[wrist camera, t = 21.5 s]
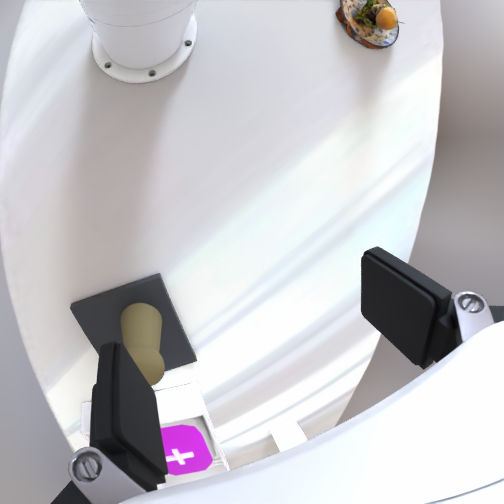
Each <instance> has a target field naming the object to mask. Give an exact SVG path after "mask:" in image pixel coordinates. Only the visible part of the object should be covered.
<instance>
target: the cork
mask: <svg viewBox="0 0 504 504" xmlns="http://www.w3.org/2000/svg"><path fill="white" fill-rule="evenodd" d="M121 329H122V337H123V343H124V346H125V347H126V349H127V350H128V352H129V354H130V355H131V357H132V359H133V360H134V362H135V363H136V365H137V366H138V368H139V369H140V371H141V373H142V374H143V376H144V377H145V379H146V380H147V382H148V383H149V384H150V386H152V385H155V384H156V383H158V382H159V381H160V380H161V379H162V377H163V375H164V371H165V364H164V361H163V358H162V356H161V355H160V353H159V350H160V339H161V329H162V317H161V314H160V313H159V311H158V310H157V309H156V308H154V307H153V306H151V305H149V304H145V303H136V304H132V305H130V306H128V307H127V308H126V309H125V310H124V311H123V312H122V315H121Z"/></svg>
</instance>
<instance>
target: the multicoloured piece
mask: <svg viewBox="0 0 504 504" xmlns="http://www.w3.org/2000/svg"><path fill="white" fill-rule="evenodd" d="M340 6H341V7H340V8H339V9H338V10H337V11H336V16H338V20H339V22H340V23H342V22H344V23H347V25H348V27H347V31H348V33H349V35H350V36H352V37H353V38H354V40H357V41H359V42H361V43H362V44H365V45H366V46H367V47H368V48H371V49H382V48H387V47H388V46H391V45H392V44H393V43H394V42H395V41H396V39H397V37H398V33H399V25H398V19H397V15H396V11H395V8H394V9H393V8H392V6H391V5H390V4H389V2H388V1H387V0H340ZM400 23H402V22H400ZM404 24H405V23H404Z"/></svg>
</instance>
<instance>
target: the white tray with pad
mask: <svg viewBox="0 0 504 504" xmlns="http://www.w3.org/2000/svg"><path fill="white" fill-rule="evenodd" d="M154 393H155V395H156V400H157V407H158V414H159V421H160V428H161V434H162V440H163V445H164V451H165V456H166V461H167V466H168V475H165V479H166V483H163V484H158V485H157V488H158V490H159V489H163V488H167V487H171V486H174V485H178V484H183V483H187V482H191V481H195V480H198V479H202V478H206V477H209V476H213V475H216V474H219V473H222V472H226V471H229V470H230V467H229V465H228V462H227V459H226V457H225V455H224V452H223V450H222V447H221V445H220V442H219V440H218V437H217V435H216V432H215V430H214V427H213V424H212V422H211V419H210V416H209V414H208V411H207V408H206V405H205V403H204V400H203V397H202V394H201V391H200V388H199V385H198V383H197V382H195V383H191V384H186V385H182V386H178V387H173V388H168V389H163V390H158V391H154ZM90 417H91V402H83V406H82V417H81V432H80V433H81V434H82V435H83V436H84V437H85V438H86V439H87V440H88V442H89V443H90Z"/></svg>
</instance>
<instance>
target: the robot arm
mask: <svg viewBox="0 0 504 504" xmlns="http://www.w3.org/2000/svg"><path fill="white" fill-rule="evenodd" d="M79 2H80V4H81V6H82V8H83V10H84V11H85V13H86V15H87V17H88V19H89V21H90V23H91V25H92V27H93V28H94V33H93V37H92V52H93V55H94V59H95V60H96V62H97V64H98V65H99V67H100V68H101V69H102V70H103V71H104V72H105V73H106V74H108V75H109V76H110V77H112V78H114V79H116V80H119V81H123V82H127V83H146V82H150V81H154V80H158V79H160V78H162V77H165V76H167V75H168V74H170V73H172V72H173V71H175V70H176V69H177V68H178V67H180V66H181V65H182V64H183V63H184V61H185V60H186V59H187V58H188V57H189V55H190V53H191V52H192V50H193V48H194V45H195V42H196V38H197V24H196V19H195V17H194V15H193V12H194V9H195V7H196V4H197V2H198V0H79ZM186 44H189V47H186V46H185V45H186ZM108 65H111V67H110V68H107V66H108ZM151 73H154V76H150V74H151ZM451 294H452V292H451V291H449V290H448V289H446V288H445V287H443V286H442V285H440V284H438V283H437V282H435V281H434V280H432V279H431V278H429V277H427V276H426V275H424V274H423V273H421V272H420V271H418V270H416V269H415V268H413V267H411V266H410V265H408V264H407V263H405V262H403V261H402V260H400V259H398V258H397V257H395V256H394V255H392V254H390V253H389V252H387V251H385V250H383V249H382V248H380V247H374V248H372V249H369V250H367V251H365V252H364V255H363V256H362V258H361V312H362V315H363V316H364V318H365V319H366V320H368V321H369V322H370V323H371V324H372V325H373V326H374V327H375V328H376V329H377V330H378V331H379V332H380V333H382V334H383V335H384V336H385V337H386V338H387V339H388V340H389V341H390V342H391V343H392V344H393V345H394V346H395V347H396V348H398V349H399V350H400V351H401V352H402V353H403V354H404V355H405V356H406V357H407V358H408V359H409V360H410V361H411V362H412V363H414V364H415V365H419V366H420V367H421V368H422V369H425V368H427V367H428V366H429V365H431V364H432V363H433V361H435V362H436V364H435V365H434V366H432V367H431V368H430V369H428V370H427V371H426V372H425V373H423V374H422V375H420V376H419V377H417V378H416V379H414V380H413V381H412V382H410V383H409V384H407V385H406V386H404V387H403V388H401V389H400V390H398V391H397V392H395V393H394V394H392V395H391V396H389V397H387V398H386V399H384V400H382V401H381V402H379V403H377V404H376V405H374V406H373V407H371V408H369V409H367V410H366V411H364V412H362V413H361V414H359V415H357V416H355V417H353V418H351V419H350V420H348V421H346V422H344V423H342V424H340V425H338V426H336V427H334V428H332V429H330V430H328V431H326V432H324V433H322V434H320V435H318V436H316V437H314V438H312V439H310V440H307V441H305V442H303V443H301V444H298V445H296V446H294V447H292V448H289V449H287V450H284V451H282V452H279V453H277V454H274V455H272V456H269V457H267V458H264V459H261V460H259V461H256V462H253V463H250V464H247V465H244V466H241V467H238V468H235V469H232V470H229V471H226V472H222V473H219V474H216V475H213V476H209V477H206V478H202V479H198V480H195V481H191V482H187V483H183V484H178V485H174V486H171V487H167V488H163V489H159V490H158V488H157V485H158V484H163V483H166V479H165V475H168V466H167V461H166V456H165V451H164V445H163V440H162V434H161V428H160V421H159V414H158V407H157V400H156V395H155V393H154V390H153V389H152V387H151V386H150V384H149V383H148V382H147V380H146V379H145V377H144V376H143V374H142V373H141V371H140V369H139V368H138V366H137V365H136V363H135V362H134V360H133V359H132V357H131V355H130V354H129V352H128V350H127V349H126V347H125V346H124V344H123V343H118V342H117V341H111V342H108V343H105V344H102V345H101V347H100V354H99V362H98V372H97V383H96V384H95V385H94V386H93V389H92V401H91V417H90V447H84V448H81V449H79V450H78V451H76V452H75V453H74V454H73V456H72V457H71V459H70V461H69V465H68V471H69V475H70V477H71V479H72V480H71V481H70V482H69V483H68V485H67V486H66V487H65V488H64V489H63V490H62V491H61V493H60V494H59V495H58V496H57V497H56V498H55V500H54V501H53V502H52V503H51V504H504V306H489V305H488V302H487V301H486V299H485V298H484V297H483V296H482V295H480V294H478V293H476V292H472V291H463V292H461V293H458V294H457V295H456V296H455V299H454V300H453V299H452V298H451Z"/></svg>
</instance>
